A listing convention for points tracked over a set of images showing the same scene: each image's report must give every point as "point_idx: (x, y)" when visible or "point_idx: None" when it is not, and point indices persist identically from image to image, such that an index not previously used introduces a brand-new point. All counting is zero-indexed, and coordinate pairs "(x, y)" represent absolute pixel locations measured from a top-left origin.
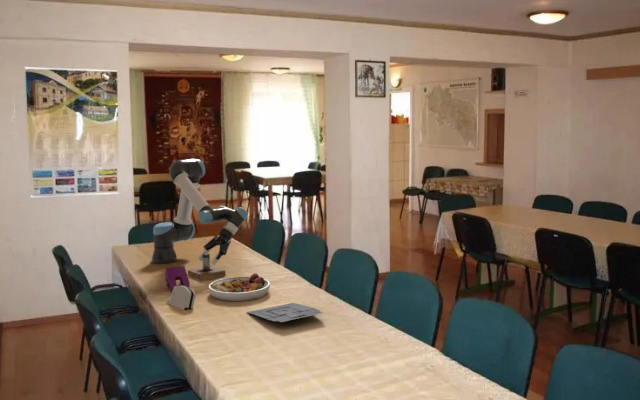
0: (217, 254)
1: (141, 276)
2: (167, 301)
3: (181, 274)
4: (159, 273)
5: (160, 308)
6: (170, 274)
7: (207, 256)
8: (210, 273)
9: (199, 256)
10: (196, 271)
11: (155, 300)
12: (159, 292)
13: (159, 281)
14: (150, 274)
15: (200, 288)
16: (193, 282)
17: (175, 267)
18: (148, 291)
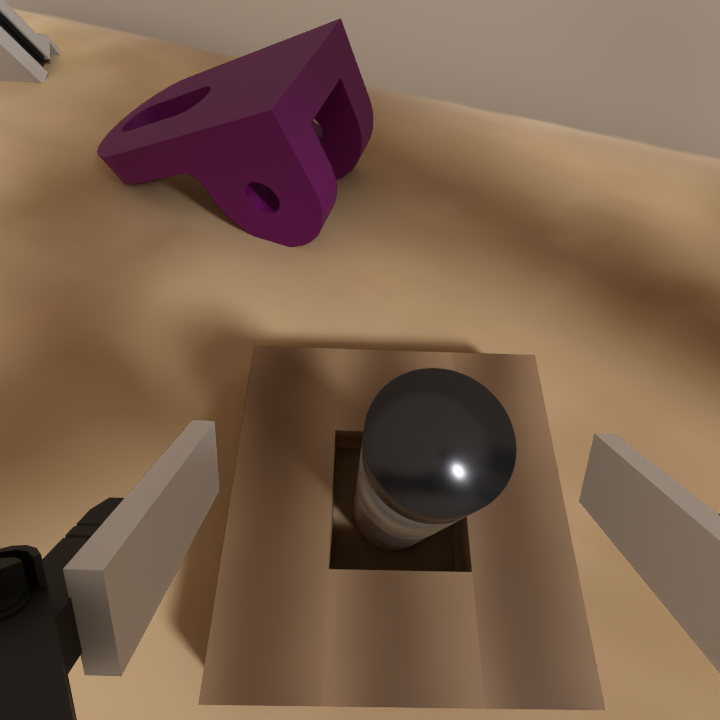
0: (94, 535)
1: (672, 168)
2: (51, 44)
3: (205, 108)
4: (706, 265)
5: (23, 16)
6: (257, 58)
7: (363, 433)
8: (238, 447)
9: (629, 450)
10: None
11: (144, 43)
12: None
13: (475, 179)
14: (703, 217)
15: (89, 254)
16: (272, 299)
17: (299, 63)
18: None
